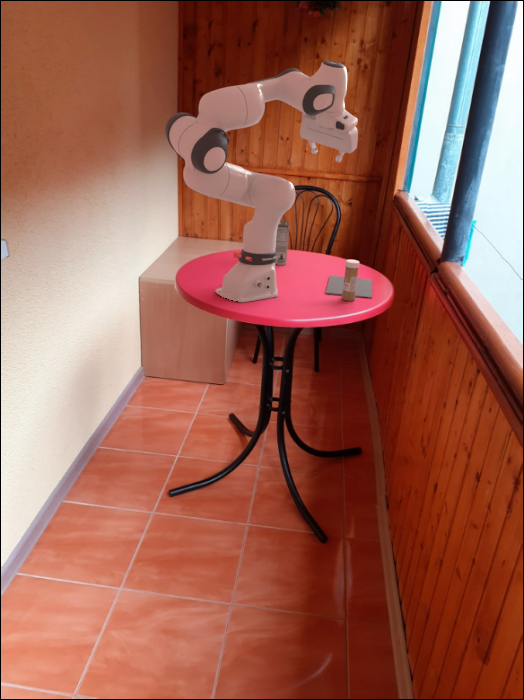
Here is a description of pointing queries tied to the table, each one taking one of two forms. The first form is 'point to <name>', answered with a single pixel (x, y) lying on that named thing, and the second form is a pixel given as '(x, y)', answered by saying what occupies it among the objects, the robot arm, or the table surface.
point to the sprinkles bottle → (350, 280)
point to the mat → (361, 288)
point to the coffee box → (282, 242)
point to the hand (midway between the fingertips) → (326, 157)
